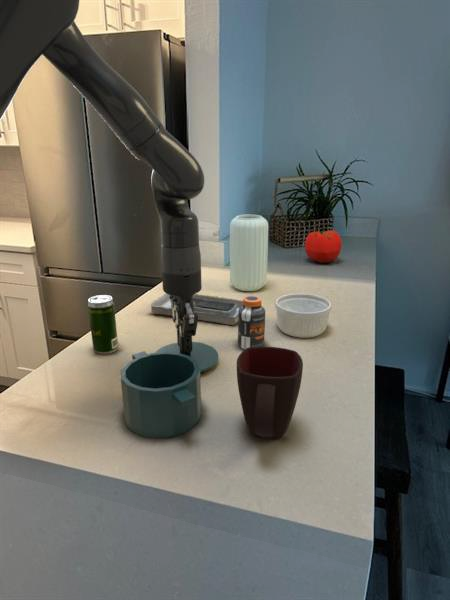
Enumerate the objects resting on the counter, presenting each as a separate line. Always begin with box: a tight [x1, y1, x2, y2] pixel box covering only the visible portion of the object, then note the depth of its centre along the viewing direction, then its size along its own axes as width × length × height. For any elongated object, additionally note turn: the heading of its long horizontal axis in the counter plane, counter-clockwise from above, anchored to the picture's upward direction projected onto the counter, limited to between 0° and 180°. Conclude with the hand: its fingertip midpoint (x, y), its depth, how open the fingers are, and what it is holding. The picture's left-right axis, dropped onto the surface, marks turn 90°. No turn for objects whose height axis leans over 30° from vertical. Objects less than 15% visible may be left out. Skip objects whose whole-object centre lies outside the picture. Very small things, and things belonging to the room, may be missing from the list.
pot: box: [120, 351, 202, 439], centre depth 71 cm, size 13×18×8 cm
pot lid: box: [154, 334, 219, 373], centre depth 88 cm, size 14×14×6 cm
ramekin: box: [274, 292, 332, 339], centre depth 104 cm, size 13×13×7 cm
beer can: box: [87, 294, 119, 356], centre depth 93 cm, size 5×5×12 cm
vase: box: [229, 213, 269, 292], centre depth 131 cm, size 12×12×22 cm
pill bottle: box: [237, 295, 266, 350], centre depth 95 cm, size 6×6×11 cm
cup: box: [236, 346, 304, 440], centre depth 65 cm, size 10×14×12 cm
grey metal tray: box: [148, 292, 243, 326], centre depth 115 cm, size 13×25×3 cm, turn 71°
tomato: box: [304, 229, 342, 264], centre depth 162 cm, size 13×14×12 cm
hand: (184, 348), depth 88 cm, fingers closed on pot lid, 2 cm apart
